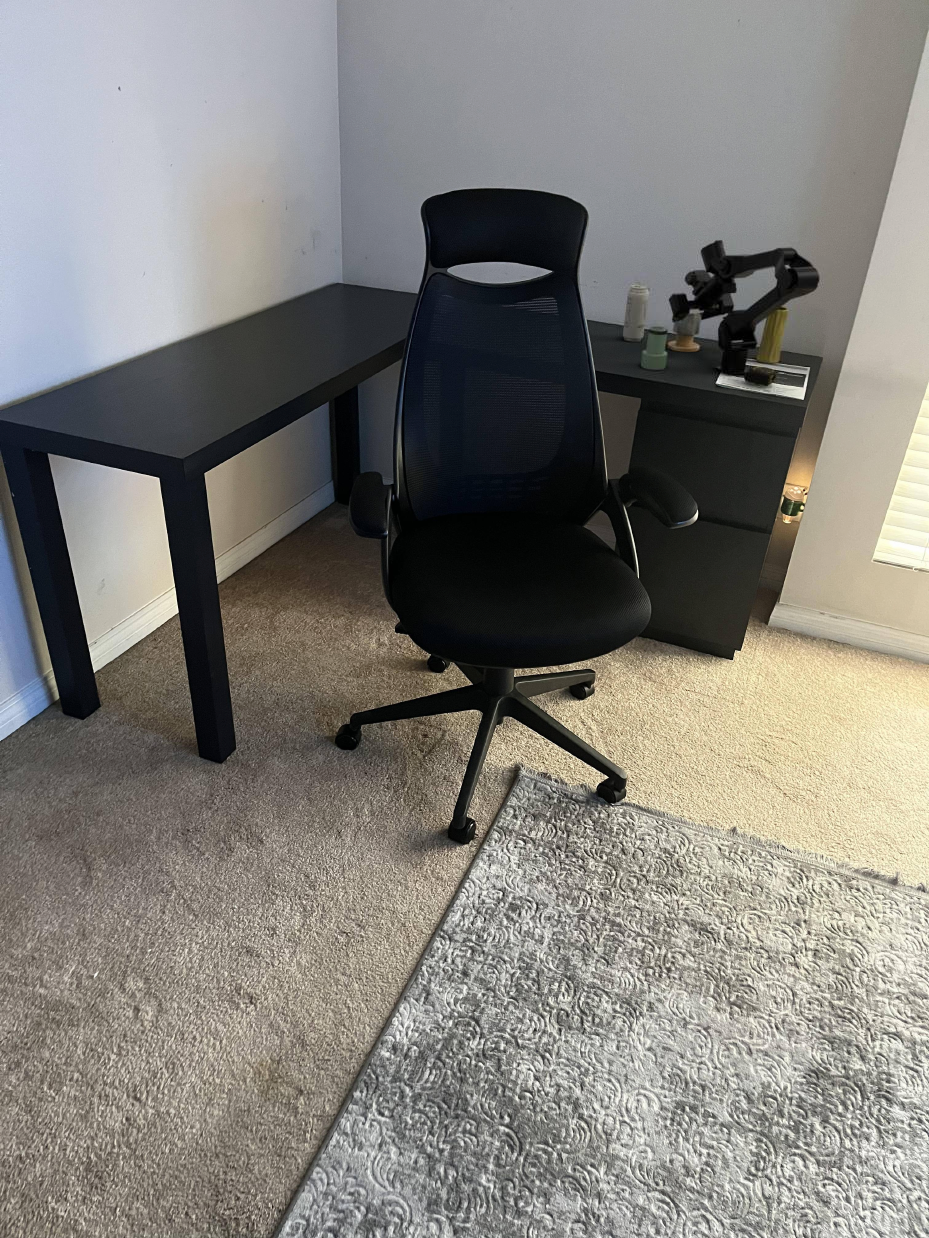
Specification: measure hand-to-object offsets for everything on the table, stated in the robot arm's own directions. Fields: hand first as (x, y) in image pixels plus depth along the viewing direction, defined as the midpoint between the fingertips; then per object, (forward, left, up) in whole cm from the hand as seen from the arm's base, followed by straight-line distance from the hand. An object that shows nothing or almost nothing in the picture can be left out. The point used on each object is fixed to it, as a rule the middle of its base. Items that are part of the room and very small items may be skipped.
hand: (686, 320), depth 251 cm
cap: (-1, 0, -3) cm, 3 cm away
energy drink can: (+11, +10, -8) cm, 17 cm away
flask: (-15, +18, -8) cm, 25 cm away
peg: (-1, 0, -8) cm, 8 cm away
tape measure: (-37, 0, -8) cm, 37 cm away
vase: (-19, -16, -8) cm, 26 cm away
